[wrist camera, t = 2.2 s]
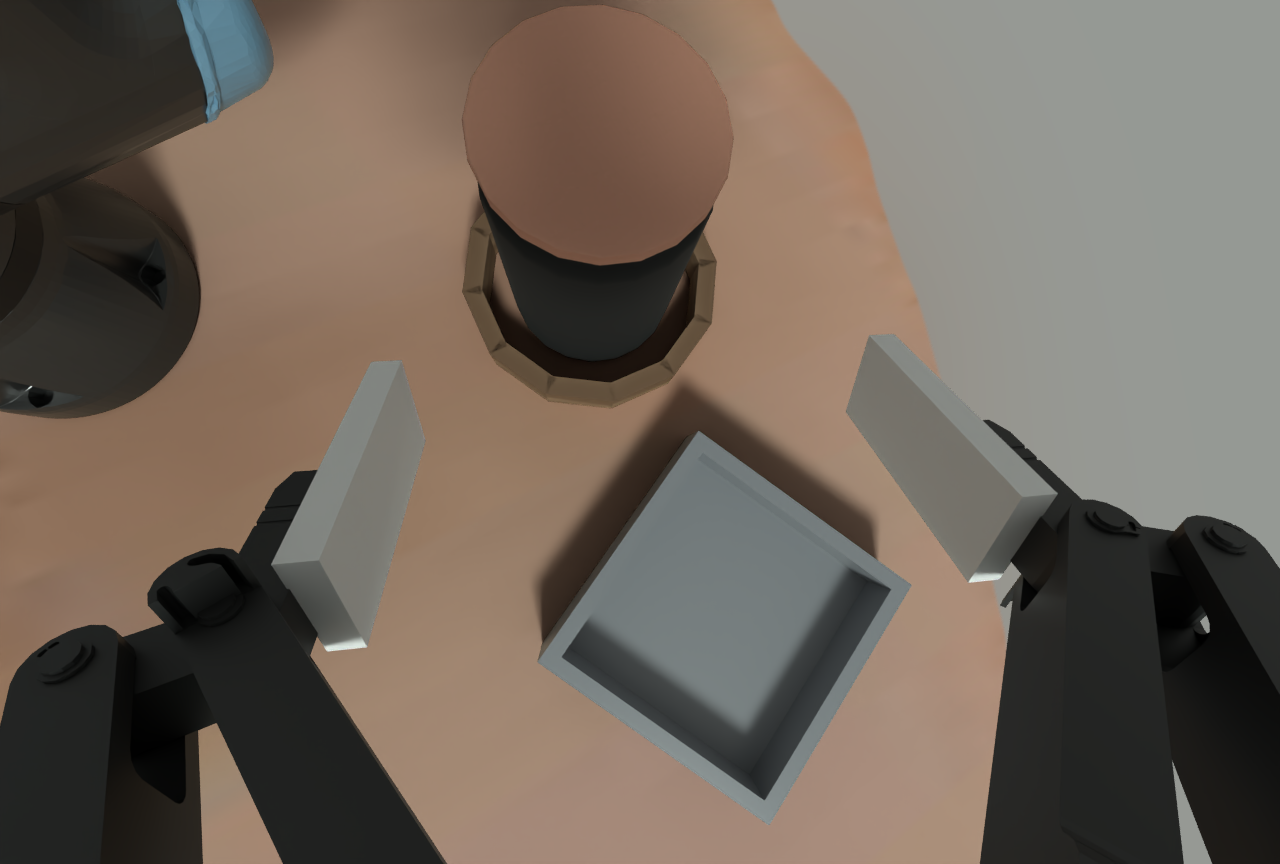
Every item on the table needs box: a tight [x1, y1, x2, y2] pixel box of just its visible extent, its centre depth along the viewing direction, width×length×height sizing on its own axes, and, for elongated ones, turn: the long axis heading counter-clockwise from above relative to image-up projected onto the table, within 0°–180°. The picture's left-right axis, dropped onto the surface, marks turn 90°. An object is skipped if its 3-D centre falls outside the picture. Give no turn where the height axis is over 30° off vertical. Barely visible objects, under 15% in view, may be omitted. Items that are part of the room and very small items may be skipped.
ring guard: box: [462, 211, 717, 408], centre depth 37 cm, size 16×16×3 cm
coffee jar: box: [462, 5, 733, 361], centre depth 30 cm, size 11×11×18 cm
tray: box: [538, 431, 911, 825], centre depth 36 cm, size 17×17×4 cm
